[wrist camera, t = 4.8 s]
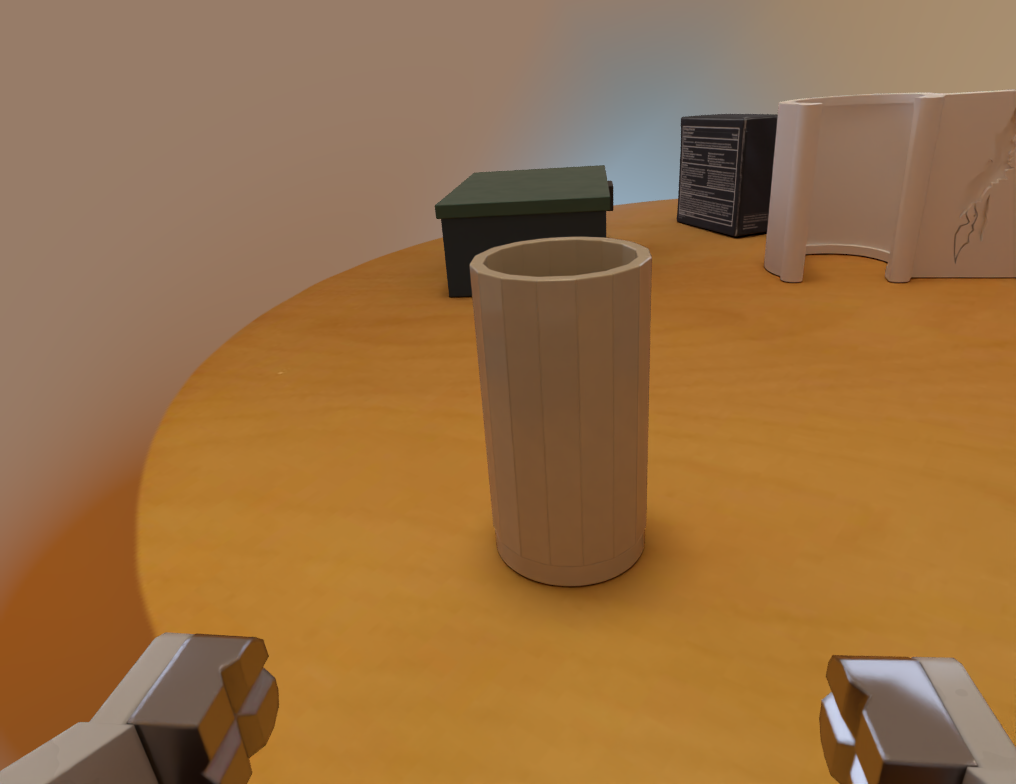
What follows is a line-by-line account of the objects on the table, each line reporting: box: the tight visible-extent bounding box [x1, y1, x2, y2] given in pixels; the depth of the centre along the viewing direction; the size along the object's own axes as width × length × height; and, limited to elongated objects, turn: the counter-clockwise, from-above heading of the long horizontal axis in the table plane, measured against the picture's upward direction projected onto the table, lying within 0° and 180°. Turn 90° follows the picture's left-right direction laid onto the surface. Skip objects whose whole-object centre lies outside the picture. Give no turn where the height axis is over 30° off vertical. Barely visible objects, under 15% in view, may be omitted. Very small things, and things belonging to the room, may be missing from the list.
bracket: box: [764, 90, 1016, 282], centre depth 49 cm, size 25×10×12 cm, turn 76°
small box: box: [677, 114, 778, 236], centre depth 67 cm, size 11×6×10 cm, turn 19°
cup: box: [469, 237, 652, 586], centre depth 22 cm, size 5×5×10 cm
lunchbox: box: [435, 165, 613, 297], centre depth 58 cm, size 19×14×7 cm
